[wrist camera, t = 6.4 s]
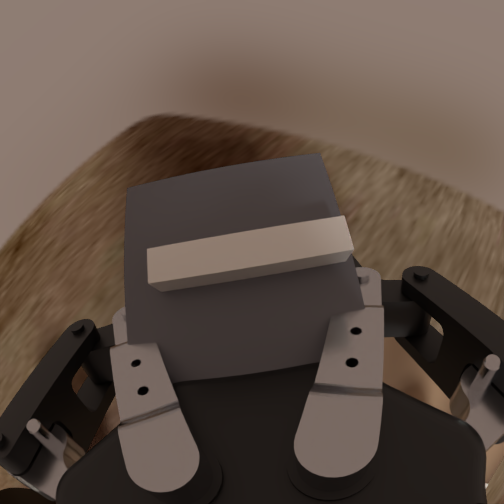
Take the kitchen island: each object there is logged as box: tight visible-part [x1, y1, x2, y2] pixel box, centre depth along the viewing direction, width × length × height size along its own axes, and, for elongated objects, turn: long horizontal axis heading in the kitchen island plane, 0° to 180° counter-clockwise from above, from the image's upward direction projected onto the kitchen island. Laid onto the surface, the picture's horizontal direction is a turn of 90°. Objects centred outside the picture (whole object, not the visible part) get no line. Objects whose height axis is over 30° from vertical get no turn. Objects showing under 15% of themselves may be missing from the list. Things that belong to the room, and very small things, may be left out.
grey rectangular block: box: [124, 153, 365, 383], centre depth 11 cm, size 6×6×11 cm
